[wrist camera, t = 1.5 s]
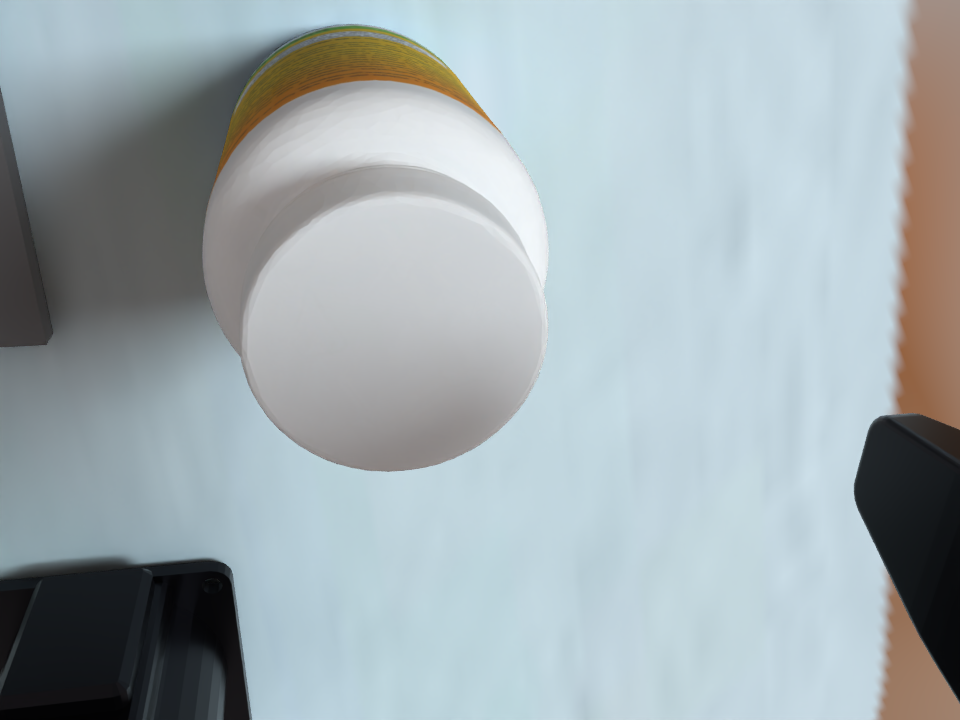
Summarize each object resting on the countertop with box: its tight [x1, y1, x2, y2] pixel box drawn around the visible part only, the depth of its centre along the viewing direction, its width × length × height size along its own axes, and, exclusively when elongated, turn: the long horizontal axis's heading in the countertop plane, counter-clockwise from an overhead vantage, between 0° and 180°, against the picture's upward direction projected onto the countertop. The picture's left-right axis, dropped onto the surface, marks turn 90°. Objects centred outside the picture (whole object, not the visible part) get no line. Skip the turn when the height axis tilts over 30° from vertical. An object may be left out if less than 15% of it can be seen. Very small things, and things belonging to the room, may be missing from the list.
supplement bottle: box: [202, 24, 549, 472], centre depth 16 cm, size 5×5×10 cm
